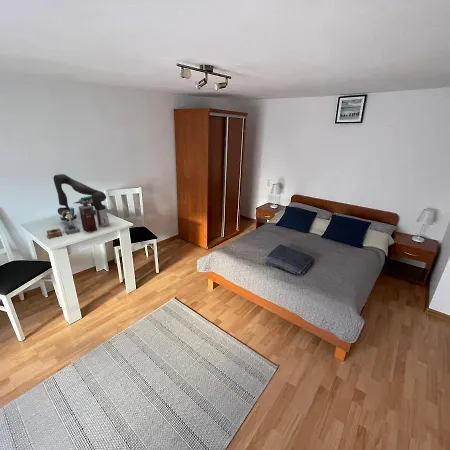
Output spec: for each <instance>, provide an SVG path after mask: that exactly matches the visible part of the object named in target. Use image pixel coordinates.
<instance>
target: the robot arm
mask: <svg viewBox="0 0 450 450" xmlns="http://www.w3.org/2000/svg"><path fill="white" fill-rule="evenodd" d="M52 180H53V182H54V186H55V189H56V192H57V197H58V204H59V206H62V207H59V208H57V213H58V215H60V217H59V219H60V221H63V222H68V223H69V220H68V218H67V214H66V212H68V211H70V212H71V209H70V206H69V203H68V197H67V194H66V193H65V191H64V190H63V187H62V185H68V186H70V187H71V188H72V190H73V191H75V192H77V193H79V194H81V195H87V196H92V201H93V205H94V206H93V208H94V210H95V211H96V215H95V216H96V220H97V222H96V223H97V226H98V227H99V228H106V227H109V226H110V220H109V215H108V211H107V207H106V205H105V204H103V202H105V201H106V199H107V195H106V193H104V192H103V191H101V190H97V189H95V188H92V187H90V186H88V185H86V184H84V183H82V182H80V181H77V180H76V179H73V178H71V177H70V176H68V175H66V173H64V174H63V173H62V174H55V175H54V176H53V179H52ZM106 211H107V212H106ZM71 217H72V221H75V220H76V219H77V218H78V216H77V214H74V215H73V214H72V212H71Z"/></svg>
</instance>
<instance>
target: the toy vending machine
mask: <svg viewBox="0 0 450 450" xmlns="http://www.w3.org/2000/svg"><path fill="white" fill-rule="evenodd" d="M78 210H79V215H80V219H81V224H82V229H83V231H84V232H86V233H87V232H88V233H92V232H94V231H97V230H98V228H97V222H96V218H95V216H96V215H94V211H93V210H94V206H91V204H88V202H86V201H83V202H82V204H81V205H79V206H78Z"/></svg>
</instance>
